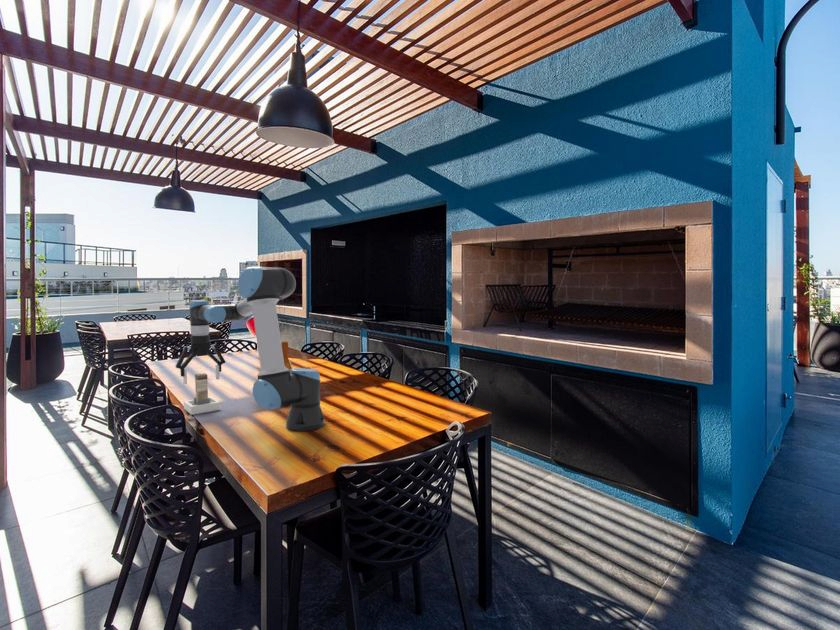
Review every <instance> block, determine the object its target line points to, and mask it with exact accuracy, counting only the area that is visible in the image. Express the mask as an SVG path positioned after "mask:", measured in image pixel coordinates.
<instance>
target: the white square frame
mask: <svg viewBox="0 0 840 630" xmlns="http://www.w3.org/2000/svg"><path fill="white" fill-rule="evenodd" d="M183 409H184V411H186V412H187V413H189V415H191V416H192V415H193V416H194V415H198V414H204V413H209V412H214V411H220V410H221V401H219V399H216V398H215V397H213V396H208V399H204V400H198V405H196V397H193V399H190V400H189V399H188V400H184V401H183Z"/></svg>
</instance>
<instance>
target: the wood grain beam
mask: <svg viewBox="0 0 840 630" xmlns="http://www.w3.org/2000/svg"><path fill="white" fill-rule="evenodd" d="M194 379H195V385H194V386H195V398H196V405H198V400H204V399H208V397H209V395H208V394H209V392H208V390H209V389H208V387H209V386H208V374H207V373H198V374H197V373H196V374H194Z"/></svg>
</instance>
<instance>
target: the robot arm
mask: <svg viewBox="0 0 840 630" xmlns="http://www.w3.org/2000/svg"><path fill="white" fill-rule="evenodd" d="M296 287H297V281H296V278H295V276H294V274H293V273H292V272H291V271H289V270H288V269H286V268H282V267H269V266H268V267H267V266H258V265H257V266H248V267H246V268H244V269H243V270H242V272H241V273H240V275H239V277H238V281H237V289H238V293H239V294H240V296H241V297H242V298H244V299H242V300H240V301H239V302H237V303H233V304H209V301H208V300H191V301H190V302H189V322H190V323H189V325H190V335H191V336H190V346H183V347H182V352H181V355H180V356H179V359H178V361H177V363H176V364H175V368H176V369H179V371H180V377H182V378H183V384H184V385H187V384H188V378H187V377H188V375H187V368H186V367H187V366H189V364H190V362H191V361H193V359H194V358H195V357H196V356H199V357H200V356H206V355H207V356H209V357H210V359H211V360H213V362H215V379H216V380H217V381H218V380H220V372H222V365H223V364H226V360H225V358H224V357H223V355H222V353H221V351H220V350H219V346H218V344H217V343H213V344H211V343H210V339H211V337H210V335H209V334H210V323H212V324H214V323H215V324H216V323H217V324H218V323H221V322H222V323H223V322H238V321H239V322H240V321H241V322H242V321H243V322H244V321H248V320H251V319H252V318H253V322H254V330H255V337H256V343H257V351H258V358H259V364H260V371H259V372H258V373H257V380H256V381H255V382H254V383H253V386H252V396H253V399H254V401H255V402H256V404H257V405H258V406H259V408H261V409H263V410H267V411H269V410H274V409H275V410H277V409H280V408H281V407H285V406H290V407H289V408H290V409H289V411H288V414H287V417H286V421H285V428H287V429H288V430H291V431H296V432H308V431H314V430H317V429H320V428H322V427H324V425H325V423H326V422H325V419H326V418H325V416H324V414H323V411H322V410H323V409H322V408H321V375H320V371H318V370H316V369H311V368H302V367H301V368H298V367H295V368H292V369H291V370H290V371H289V369H288V368H286V367H285V365H284V358H283V352H282V345H281V342H282V338H281V333H280V323H279V319H278V311H277V304H278V303H279V301H283V300H285V299H286V298H288V297H289V296H291V295H292V294H293V293H294V292H295V290H296ZM211 348H212V350H214V353H215V354H216V355H217V357H218V358H217V357H216V356H215V355H214V354H213V353H212V352H211V351H210V350H211ZM189 351H191V353H190V354H189V355H188V356H187V354H188V352H189ZM186 356H187V358H186ZM185 358H186V359H185Z"/></svg>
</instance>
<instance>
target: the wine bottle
mask: <svg viewBox="0 0 840 630" xmlns="http://www.w3.org/2000/svg"><path fill="white" fill-rule="evenodd" d="M281 345H282V352H283V358H284V365H285V367H286V368H288V369H289V371H290V370H291V369H293V365H292V362H291V360H289V355H288V351H289V342H288V341H281Z"/></svg>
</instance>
